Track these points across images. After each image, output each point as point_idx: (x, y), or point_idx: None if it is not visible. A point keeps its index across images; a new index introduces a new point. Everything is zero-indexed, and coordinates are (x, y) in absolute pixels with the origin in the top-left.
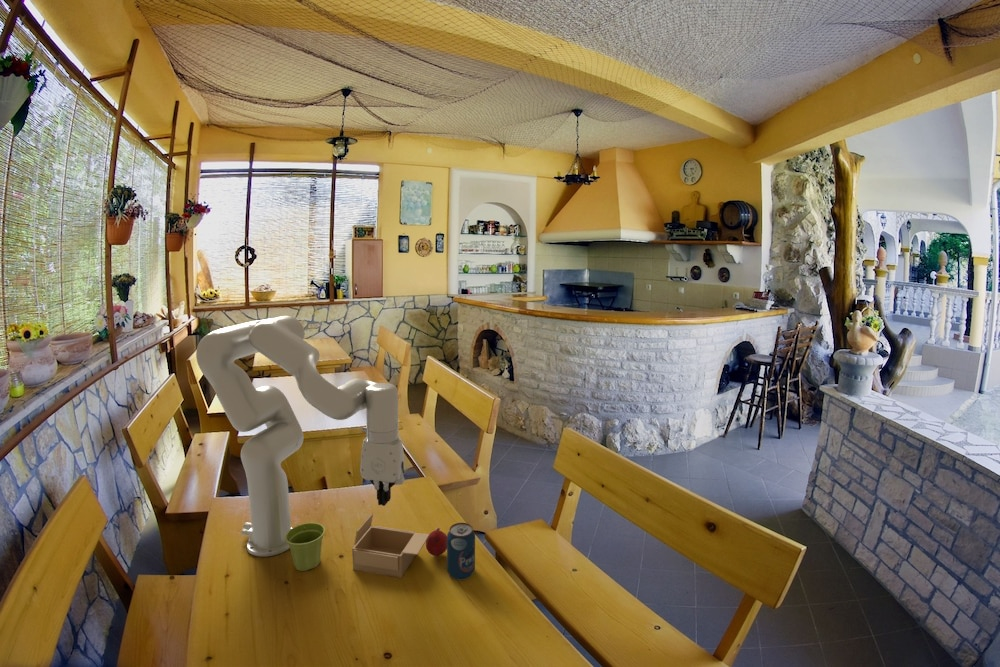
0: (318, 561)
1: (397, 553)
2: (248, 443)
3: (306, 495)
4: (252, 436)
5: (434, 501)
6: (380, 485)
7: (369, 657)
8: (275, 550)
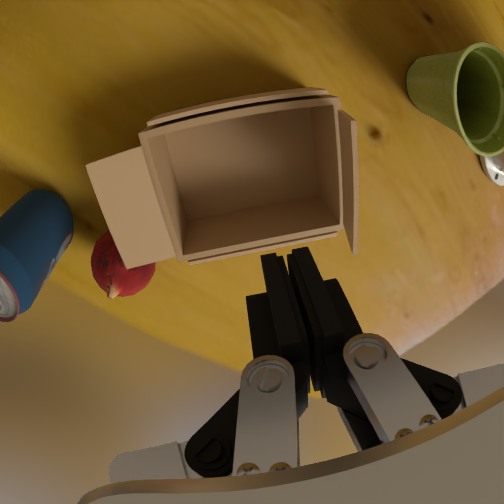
0: (410, 84)
1: (231, 198)
2: None
3: (493, 278)
4: None
5: None
6: (345, 386)
7: None
8: None
